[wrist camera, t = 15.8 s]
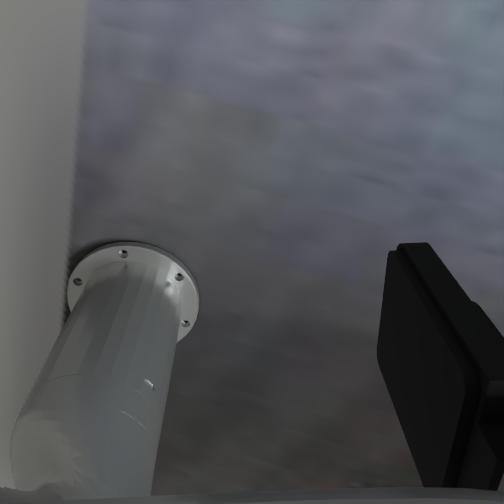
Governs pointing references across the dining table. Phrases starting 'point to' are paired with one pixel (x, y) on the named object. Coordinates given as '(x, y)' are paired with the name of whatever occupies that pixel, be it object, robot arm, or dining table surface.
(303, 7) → the dining table surface
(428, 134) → the dining table surface
